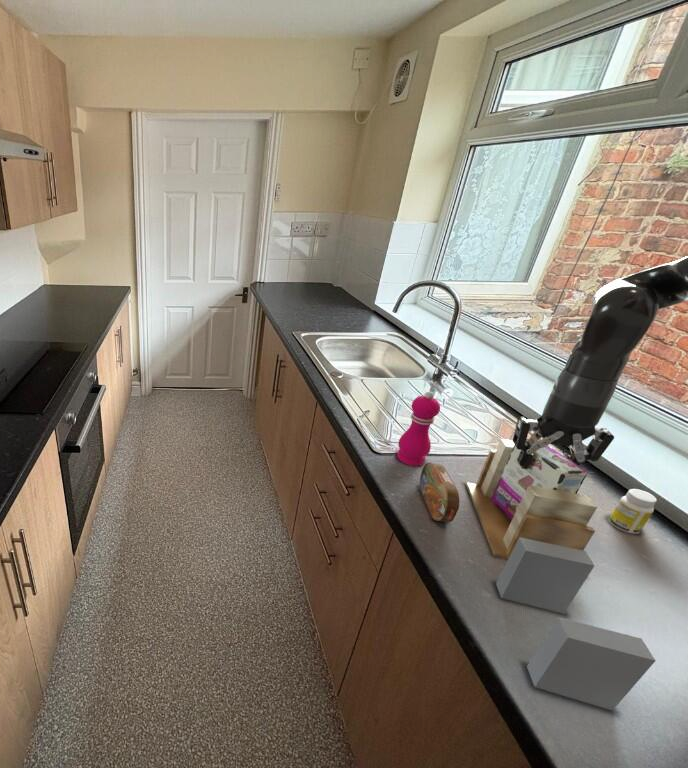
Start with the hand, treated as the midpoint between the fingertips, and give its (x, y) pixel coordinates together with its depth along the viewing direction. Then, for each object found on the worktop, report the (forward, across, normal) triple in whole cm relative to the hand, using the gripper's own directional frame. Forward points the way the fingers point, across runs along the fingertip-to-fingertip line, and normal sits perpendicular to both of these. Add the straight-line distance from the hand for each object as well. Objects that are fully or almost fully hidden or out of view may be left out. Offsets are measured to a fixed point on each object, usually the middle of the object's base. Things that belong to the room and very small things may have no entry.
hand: (543, 470), depth 81 cm
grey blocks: (+15, -4, -27) cm, 31 cm away
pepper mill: (+15, -18, +18) cm, 30 cm away
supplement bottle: (+15, +21, +7) cm, 27 cm away
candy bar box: (+13, 0, 0) cm, 13 cm away
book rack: (+15, 0, 0) cm, 15 cm away
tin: (+15, -16, +1) cm, 22 cm away
